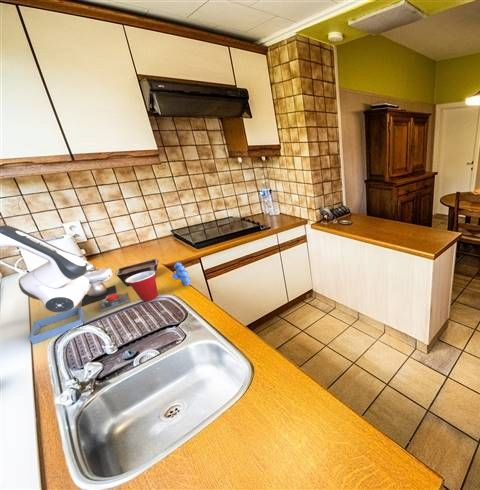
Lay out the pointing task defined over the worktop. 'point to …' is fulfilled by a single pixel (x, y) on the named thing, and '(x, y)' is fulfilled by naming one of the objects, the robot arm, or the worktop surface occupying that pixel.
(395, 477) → the worktop surface
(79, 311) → the dish rack
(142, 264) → the baking dish
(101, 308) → the control block
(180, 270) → the grapes
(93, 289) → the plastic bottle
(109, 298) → the button
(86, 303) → the drying mat
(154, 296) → the plastic cup
